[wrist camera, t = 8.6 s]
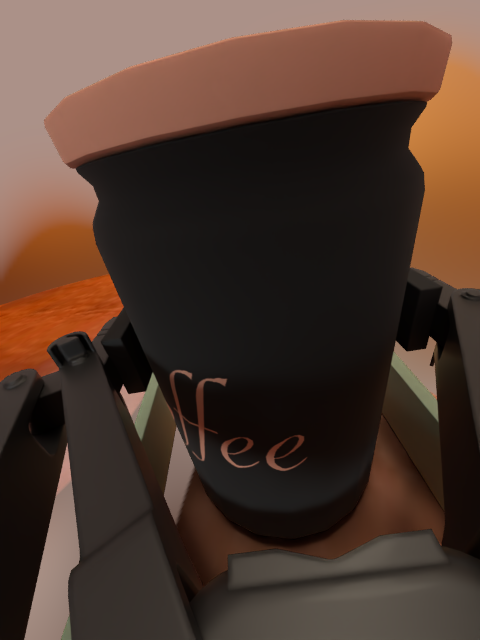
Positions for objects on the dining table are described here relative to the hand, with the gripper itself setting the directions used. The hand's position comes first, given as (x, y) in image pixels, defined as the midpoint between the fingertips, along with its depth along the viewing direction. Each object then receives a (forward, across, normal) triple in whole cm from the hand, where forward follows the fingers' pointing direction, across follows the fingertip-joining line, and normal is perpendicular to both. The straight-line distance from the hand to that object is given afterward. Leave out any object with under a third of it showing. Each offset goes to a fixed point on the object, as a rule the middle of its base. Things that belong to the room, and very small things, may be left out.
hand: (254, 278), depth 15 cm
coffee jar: (-4, 0, -11) cm, 11 cm away
